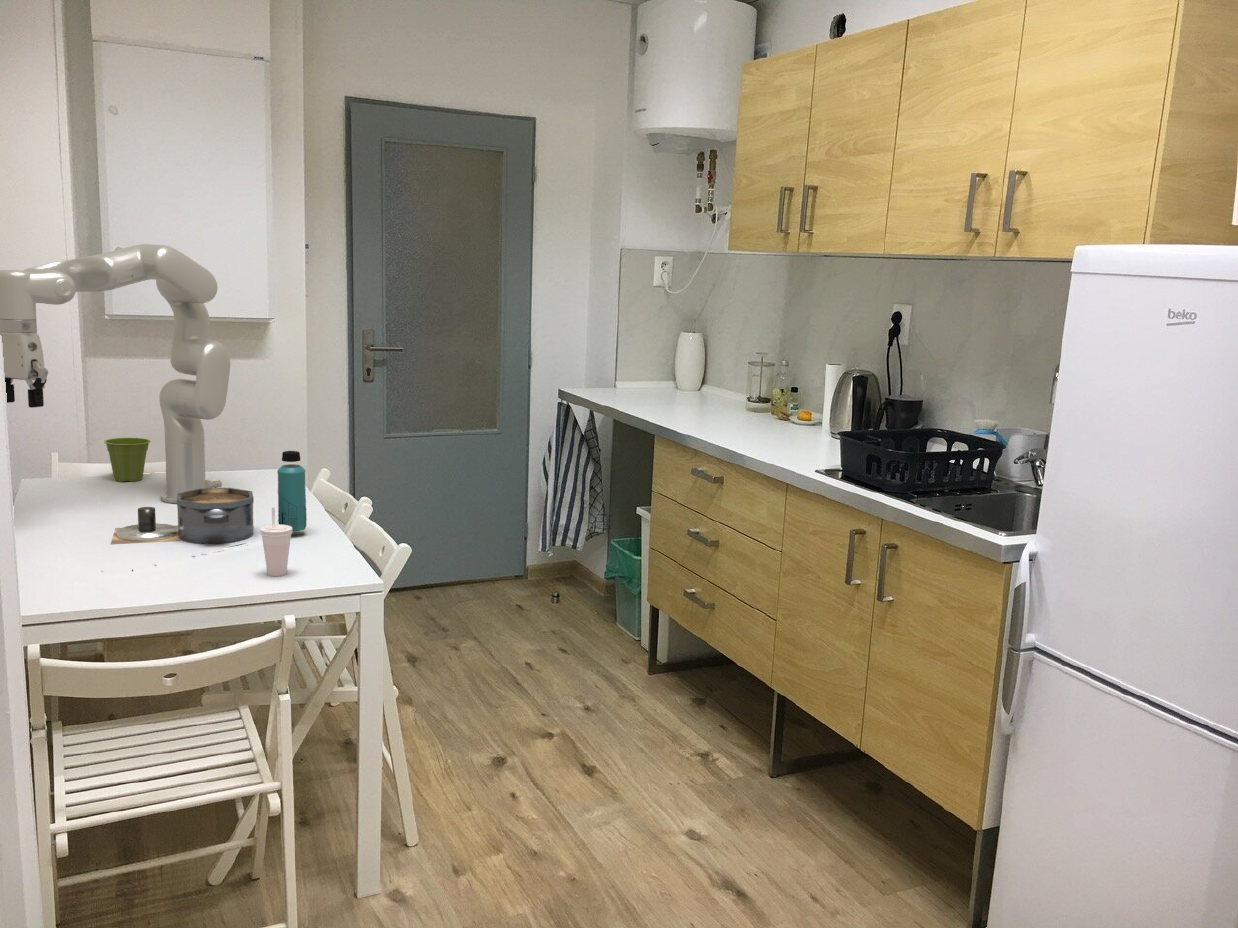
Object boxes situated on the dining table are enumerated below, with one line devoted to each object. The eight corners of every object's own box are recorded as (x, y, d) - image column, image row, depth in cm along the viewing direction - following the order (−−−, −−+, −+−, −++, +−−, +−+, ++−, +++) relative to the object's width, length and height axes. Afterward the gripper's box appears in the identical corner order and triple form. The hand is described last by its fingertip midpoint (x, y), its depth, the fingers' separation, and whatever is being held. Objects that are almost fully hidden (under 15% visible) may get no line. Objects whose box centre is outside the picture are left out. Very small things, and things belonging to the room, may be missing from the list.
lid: (156, 524, 239) (155, 499, 238) (188, 534, 232) (187, 508, 231) (105, 534, 228) (104, 508, 227) (137, 544, 222) (136, 518, 221)
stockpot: (179, 529, 239) (178, 487, 237) (251, 526, 245) (250, 484, 243) (177, 553, 220) (176, 507, 219) (255, 549, 226) (255, 504, 225)
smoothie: (265, 568, 213) (264, 503, 210) (296, 569, 213) (295, 504, 211) (256, 577, 206) (255, 510, 204) (289, 578, 207) (288, 511, 204)
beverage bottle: (312, 533, 242) (312, 450, 238) (295, 539, 236) (294, 454, 232) (289, 529, 244) (288, 447, 240) (271, 536, 238) (270, 451, 234)
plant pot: (139, 485, 282) (138, 445, 280) (97, 482, 282) (95, 443, 280) (159, 476, 294) (158, 438, 292) (118, 474, 294) (117, 436, 292)
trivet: (115, 532, 234) (115, 528, 234) (181, 529, 239) (181, 525, 239) (110, 548, 221) (110, 544, 221) (180, 545, 227) (180, 540, 226)
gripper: (59, 329, 223) (63, 407, 226) (8, 324, 230) (12, 399, 233) (27, 330, 216) (31, 410, 219) (-25, 325, 223) (-20, 402, 226)
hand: (21, 404), depth 226 cm, fingers open, 9 cm apart
